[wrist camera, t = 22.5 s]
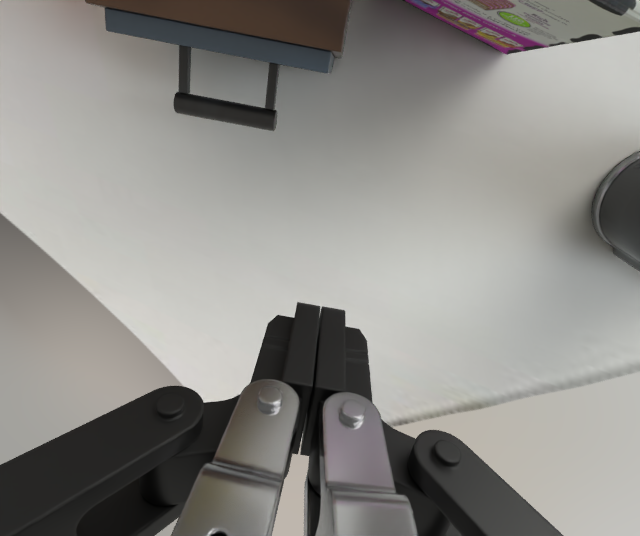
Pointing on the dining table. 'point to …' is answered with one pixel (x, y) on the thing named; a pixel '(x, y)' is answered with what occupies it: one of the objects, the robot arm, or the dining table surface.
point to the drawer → (224, 44)
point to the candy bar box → (535, 20)
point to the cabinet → (255, 18)
